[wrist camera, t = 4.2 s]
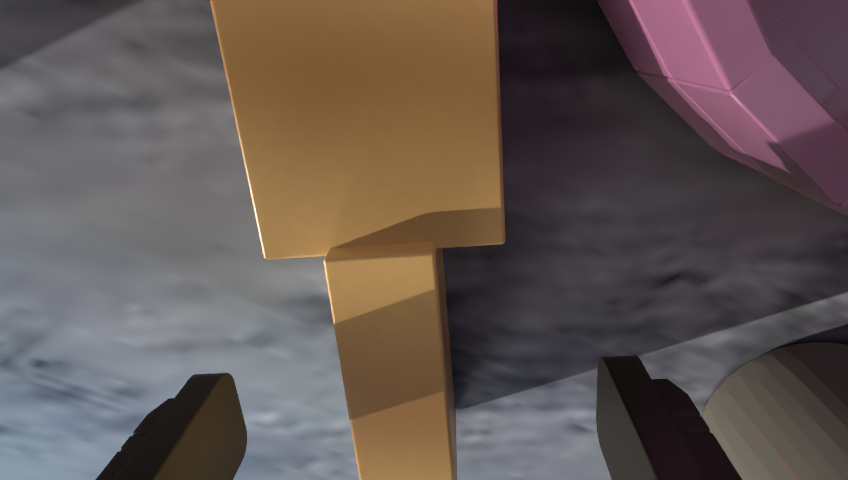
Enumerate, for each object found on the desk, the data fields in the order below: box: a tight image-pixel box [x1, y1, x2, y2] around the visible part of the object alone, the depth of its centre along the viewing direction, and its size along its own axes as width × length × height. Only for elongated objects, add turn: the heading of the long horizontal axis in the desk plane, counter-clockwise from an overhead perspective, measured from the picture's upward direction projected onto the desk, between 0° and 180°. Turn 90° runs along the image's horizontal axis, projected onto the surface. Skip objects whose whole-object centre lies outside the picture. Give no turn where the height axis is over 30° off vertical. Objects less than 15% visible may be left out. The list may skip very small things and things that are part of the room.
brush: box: [210, 0, 506, 480], centre depth 13 cm, size 12×5×4 cm, turn 5°
